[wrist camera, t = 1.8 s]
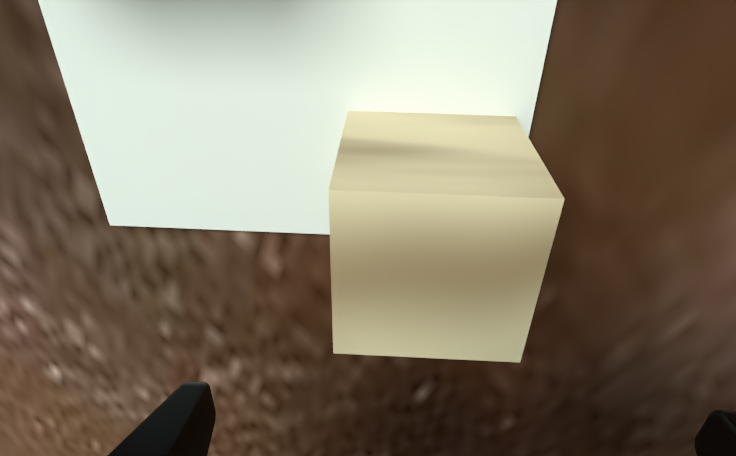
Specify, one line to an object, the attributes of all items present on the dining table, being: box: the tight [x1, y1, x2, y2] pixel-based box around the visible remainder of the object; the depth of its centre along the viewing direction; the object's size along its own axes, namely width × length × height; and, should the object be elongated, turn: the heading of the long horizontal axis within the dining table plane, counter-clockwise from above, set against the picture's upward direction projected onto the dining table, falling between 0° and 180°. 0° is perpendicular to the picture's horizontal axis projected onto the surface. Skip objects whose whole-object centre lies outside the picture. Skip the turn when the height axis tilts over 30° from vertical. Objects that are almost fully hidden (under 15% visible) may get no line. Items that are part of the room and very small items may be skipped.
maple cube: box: [329, 111, 564, 362], centre depth 14 cm, size 5×5×5 cm
